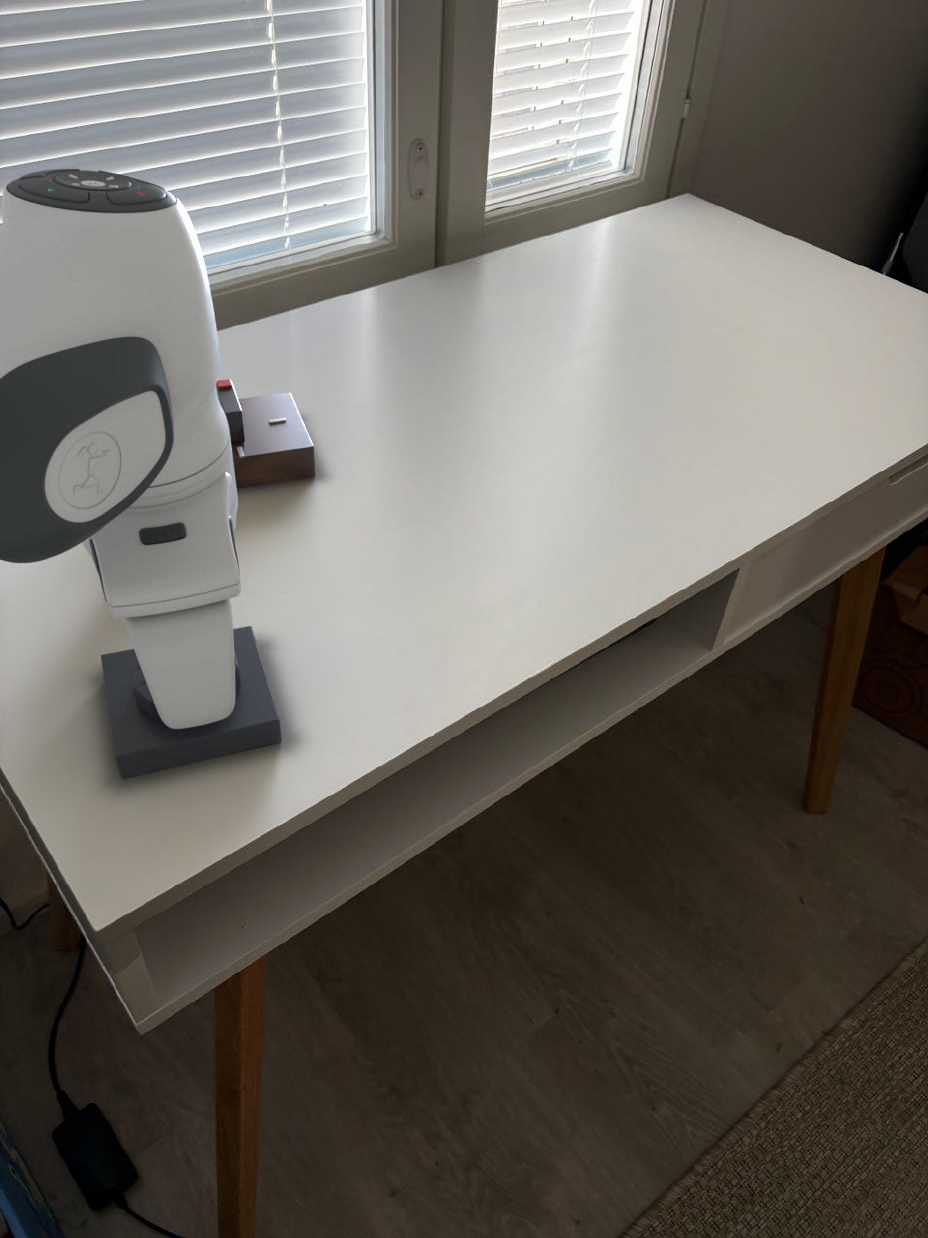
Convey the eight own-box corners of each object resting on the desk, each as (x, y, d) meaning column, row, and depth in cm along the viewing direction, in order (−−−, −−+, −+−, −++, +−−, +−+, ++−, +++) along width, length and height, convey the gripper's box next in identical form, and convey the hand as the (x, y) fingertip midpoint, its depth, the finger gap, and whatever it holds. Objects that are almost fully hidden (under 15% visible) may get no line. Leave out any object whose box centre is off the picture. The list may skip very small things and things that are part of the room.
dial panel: (172, 499, 83) (166, 467, 81) (157, 438, 89) (151, 407, 87) (315, 476, 86) (314, 445, 84) (291, 420, 92) (289, 389, 90)
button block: (120, 779, 62) (108, 737, 59) (106, 677, 68) (95, 635, 65) (282, 742, 65) (277, 700, 62) (254, 647, 71) (249, 605, 68)
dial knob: (245, 442, 84) (241, 408, 82) (228, 444, 84) (224, 410, 81) (235, 410, 87) (231, 377, 85) (218, 413, 87) (214, 379, 85)
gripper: (75, 394, 60) (117, 570, 70) (108, 620, 46) (155, 801, 56) (183, 380, 62) (210, 554, 71) (245, 594, 48) (269, 774, 58)
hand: (186, 664), depth 64 cm, fingers closed, pressing on trigger button
